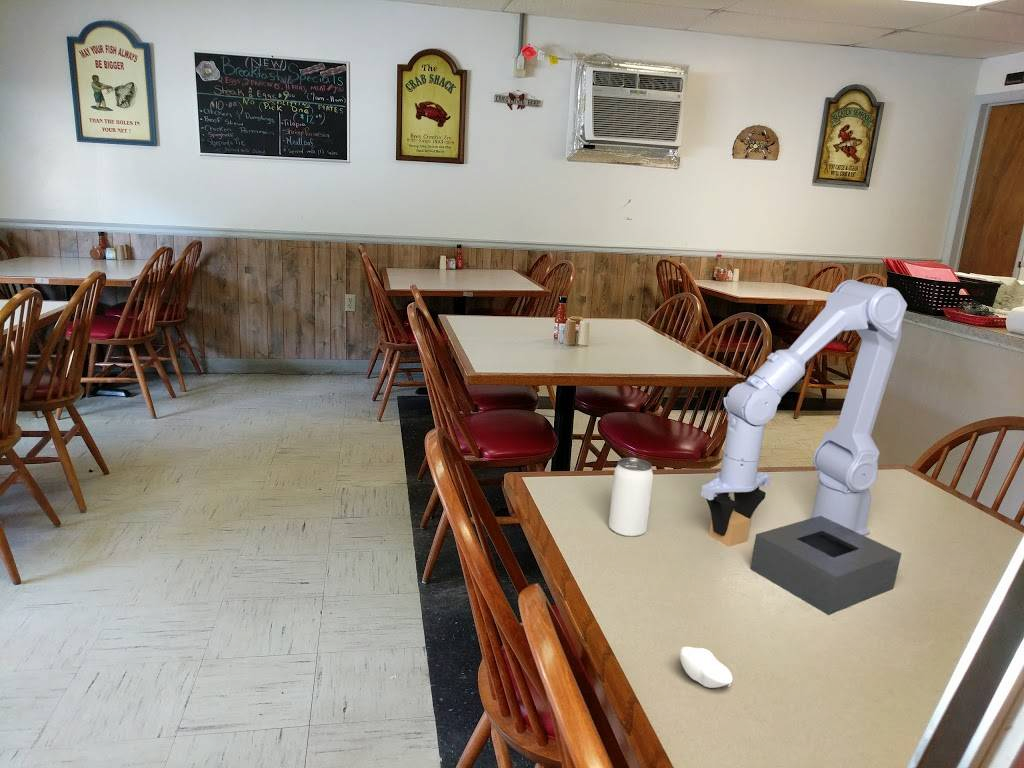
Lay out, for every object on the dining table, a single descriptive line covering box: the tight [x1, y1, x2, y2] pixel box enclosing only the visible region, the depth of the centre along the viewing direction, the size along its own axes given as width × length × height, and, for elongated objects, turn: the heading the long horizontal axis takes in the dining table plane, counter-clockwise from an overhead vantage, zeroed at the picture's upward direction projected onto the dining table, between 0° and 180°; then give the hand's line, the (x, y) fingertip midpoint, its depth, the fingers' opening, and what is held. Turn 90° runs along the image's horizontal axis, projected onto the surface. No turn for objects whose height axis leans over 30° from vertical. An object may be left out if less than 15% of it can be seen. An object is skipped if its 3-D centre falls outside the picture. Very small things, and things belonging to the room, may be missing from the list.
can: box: [608, 457, 654, 538], centre depth 123 cm, size 6×6×12 cm
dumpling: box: [679, 645, 733, 689], centre depth 86 cm, size 7×5×4 cm
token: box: [708, 510, 752, 547], centre depth 123 cm, size 4×4×4 cm
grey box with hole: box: [750, 516, 903, 616], centre depth 111 cm, size 16×14×6 cm
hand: (729, 530), depth 123 cm, fingers closed on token, 4 cm apart
